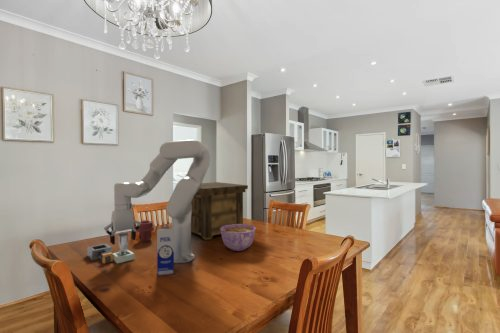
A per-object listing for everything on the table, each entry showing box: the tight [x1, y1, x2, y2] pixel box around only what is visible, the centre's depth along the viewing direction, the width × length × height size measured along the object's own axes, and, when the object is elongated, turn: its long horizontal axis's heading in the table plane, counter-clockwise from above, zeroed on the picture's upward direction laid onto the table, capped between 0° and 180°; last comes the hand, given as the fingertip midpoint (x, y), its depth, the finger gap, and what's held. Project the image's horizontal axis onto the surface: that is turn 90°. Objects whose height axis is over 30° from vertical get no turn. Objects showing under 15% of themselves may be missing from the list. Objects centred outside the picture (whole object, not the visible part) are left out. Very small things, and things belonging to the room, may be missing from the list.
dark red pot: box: [136, 219, 155, 243], centre depth 164 cm, size 12×10×10 cm
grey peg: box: [118, 231, 129, 256], centre depth 133 cm, size 4×4×12 cm
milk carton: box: [156, 226, 175, 277], centre depth 118 cm, size 7×7×20 cm
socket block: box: [86, 242, 113, 261], centre depth 138 cm, size 9×9×4 cm
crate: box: [191, 181, 249, 241], centre depth 183 cm, size 35×35×33 cm
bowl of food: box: [220, 223, 257, 252], centre depth 150 cm, size 20×20×12 cm
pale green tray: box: [112, 249, 136, 264], centre depth 133 cm, size 8×8×3 cm
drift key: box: [99, 251, 113, 264], centre depth 132 cm, size 10×4×4 cm, turn 45°
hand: (123, 241), depth 133 cm, fingers open, 9 cm apart
